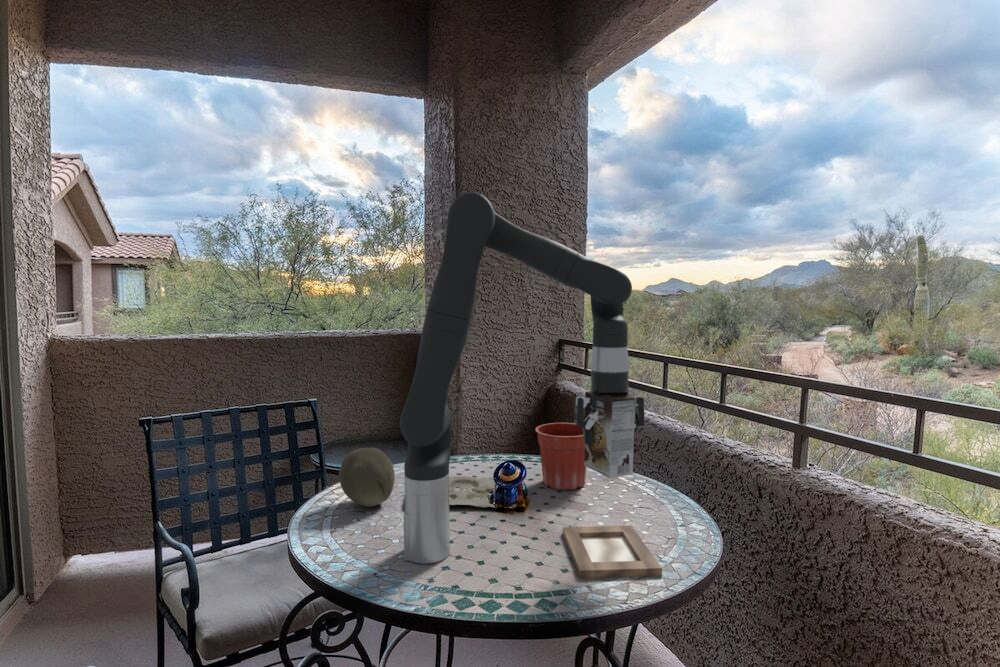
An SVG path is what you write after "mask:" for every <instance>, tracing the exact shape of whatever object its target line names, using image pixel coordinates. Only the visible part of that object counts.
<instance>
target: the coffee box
mask: <svg viewBox="0 0 1000 667" xmlns="http://www.w3.org/2000/svg"><path fill="white" fill-rule="evenodd" d="M584 395H585V397H590V395H591V390H590V391H587V390H586V391H584ZM597 410H598V415H597V416H598V420H597V421H596V422H595V423H594V424H593V426H592V427H591V430H592V447H587V445H586V444H585V455H584V465H585V466H586V468H588V469H590V470H593V471H595V472H596V473H599V474H600V475H601V476H604V477H606V478H608V479H614V478H620V477H625V476H626V477H627V476H632V475H634V450H635V449H634V448H635V447H634V444H635V442H634V422H635V396H630V395H629V396H618V395H597V401H596V409H594V408H593V407H592V405H591V404H590V403H587V405H586V407H585V408H584V420H585V419H586V418H587V417H588V415H589V414H594V413H595V412H596V411H597Z"/></svg>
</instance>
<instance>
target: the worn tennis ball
mask: <svg viewBox="0 0 1000 667" xmlns="http://www.w3.org/2000/svg"><path fill="white" fill-rule="evenodd" d="M338 472H339V473H338V478H339V483H340V488H341V490H342V491H343V493H344V494H345V496H347V498H349V500H351V501H352V502H353V503H355V504H358V505H360V506H362V507H368V508H373V507H375V506H378V505H380V504H382V503H384V502H385V501H387V500H388V499H389V497H390V496H391V494H392V492H393V489H394V484H395V479H396V476H395V468H394V465H393V463H392V461H391V459H390V458H389V457H388V455H387V454H386V453H385V452H384V451H383V450H381V449H379V448H376V447H359V448H357V449H354V450H352V451H351V452H350V453H348V454H347V455H346V456H345V458H344V459H343V460H342V462H341V466H340V468H339V471H338Z"/></svg>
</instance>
